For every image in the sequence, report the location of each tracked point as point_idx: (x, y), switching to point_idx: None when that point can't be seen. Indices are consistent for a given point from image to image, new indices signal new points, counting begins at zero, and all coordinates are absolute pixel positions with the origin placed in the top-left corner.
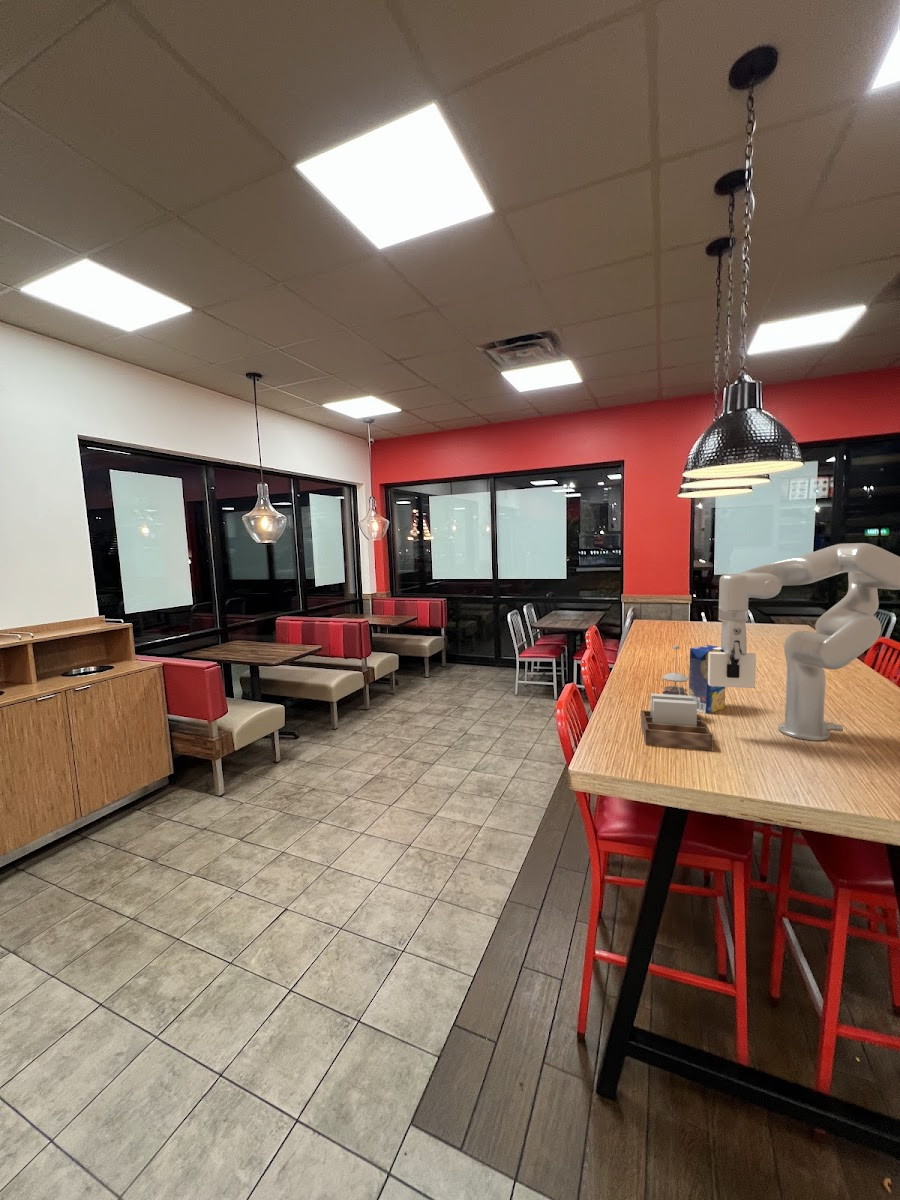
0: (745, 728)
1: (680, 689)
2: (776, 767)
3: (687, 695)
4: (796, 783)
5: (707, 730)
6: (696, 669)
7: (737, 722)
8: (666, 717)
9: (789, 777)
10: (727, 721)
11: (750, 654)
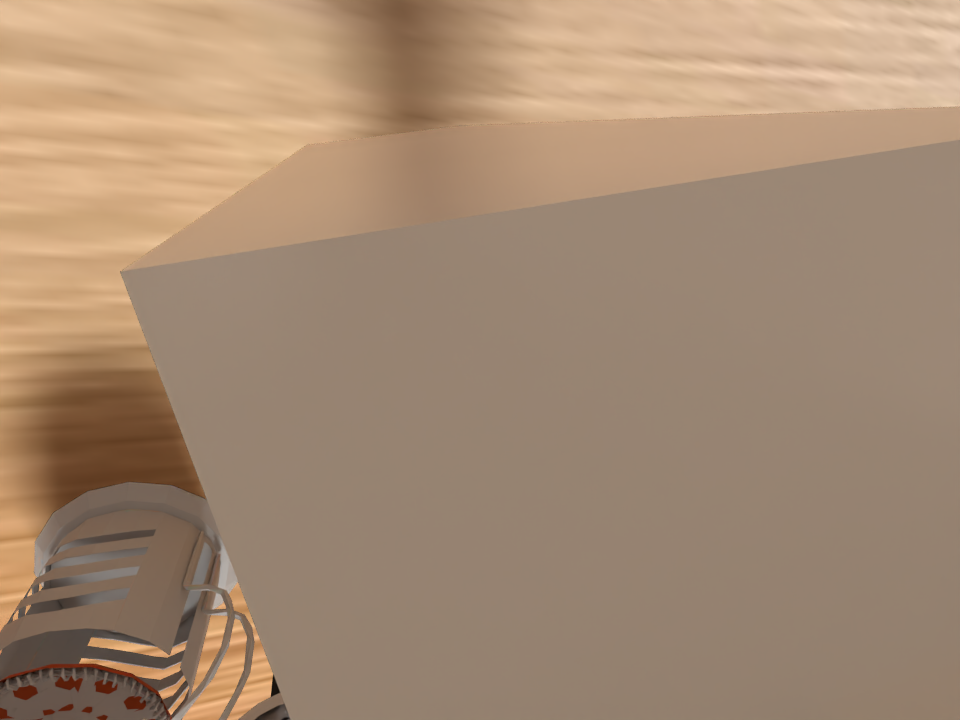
0: (143, 147)
1: (7, 710)
2: (762, 77)
3: (72, 626)
4: (910, 26)
5: None
6: None
7: (7, 190)
8: None
9: (858, 41)
10: (30, 261)
11: (949, 527)
